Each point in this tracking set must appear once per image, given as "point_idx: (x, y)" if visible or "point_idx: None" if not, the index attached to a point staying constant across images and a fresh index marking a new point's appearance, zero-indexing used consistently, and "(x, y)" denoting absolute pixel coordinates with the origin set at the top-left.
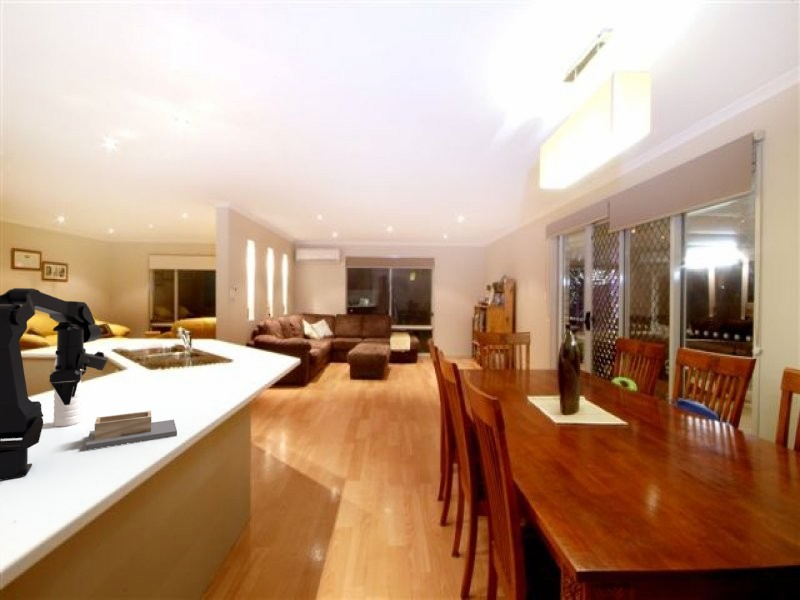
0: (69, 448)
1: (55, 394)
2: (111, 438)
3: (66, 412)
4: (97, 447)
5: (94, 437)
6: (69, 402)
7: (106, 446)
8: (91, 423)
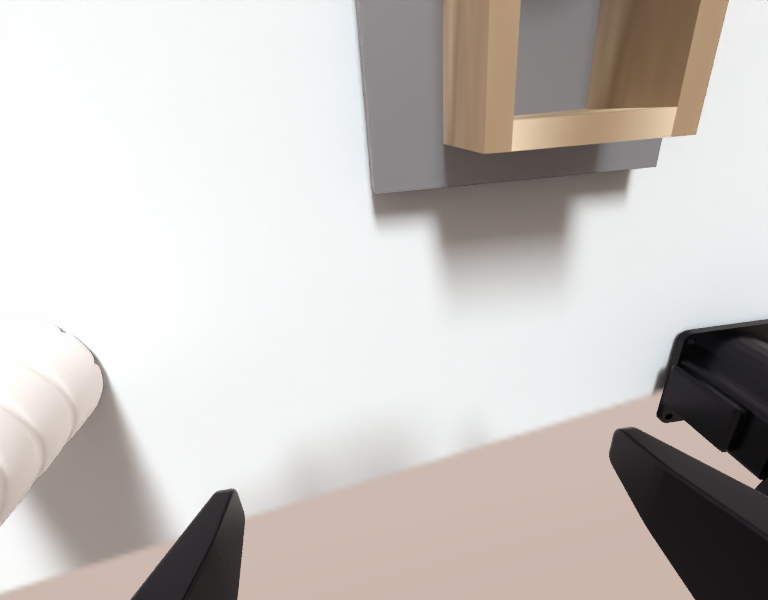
0: (539, 248)
1: None
2: None
3: (39, 425)
4: None
5: None
6: (658, 442)
7: None
8: (51, 237)
